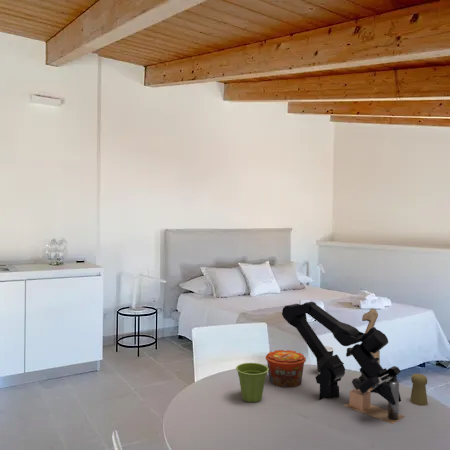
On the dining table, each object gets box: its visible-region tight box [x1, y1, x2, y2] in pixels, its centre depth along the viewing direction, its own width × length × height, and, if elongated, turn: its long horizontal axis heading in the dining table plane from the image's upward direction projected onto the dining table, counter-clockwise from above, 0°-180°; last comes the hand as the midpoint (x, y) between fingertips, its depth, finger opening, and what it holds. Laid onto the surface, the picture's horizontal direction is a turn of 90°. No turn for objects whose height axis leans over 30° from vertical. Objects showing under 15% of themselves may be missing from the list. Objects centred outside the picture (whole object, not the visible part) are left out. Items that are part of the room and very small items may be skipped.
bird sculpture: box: [353, 307, 381, 392], centre depth 170 cm, size 11×12×32 cm
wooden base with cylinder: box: [342, 380, 405, 425], centre depth 149 cm, size 18×8×13 cm, turn 42°
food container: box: [265, 349, 307, 388], centre depth 178 cm, size 16×16×11 cm
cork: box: [409, 373, 428, 406], centre depth 156 cm, size 6×6×11 cm
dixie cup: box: [315, 345, 335, 375], centre depth 187 cm, size 8×8×11 cm
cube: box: [348, 388, 371, 410], centre depth 152 cm, size 5×5×5 cm
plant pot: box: [235, 362, 269, 403], centre depth 161 cm, size 12×12×11 cm
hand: (397, 403), depth 143 cm, fingers closed on wooden base with cylinder, 3 cm apart
